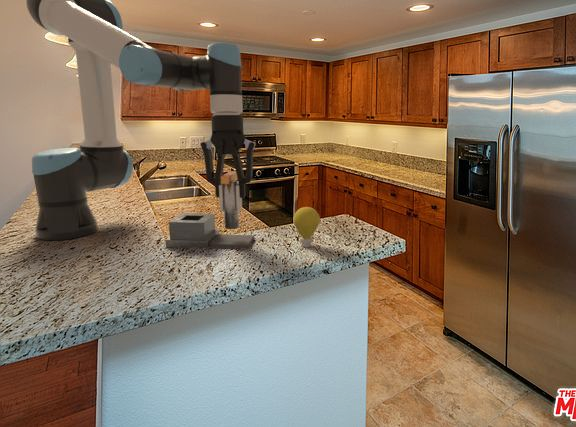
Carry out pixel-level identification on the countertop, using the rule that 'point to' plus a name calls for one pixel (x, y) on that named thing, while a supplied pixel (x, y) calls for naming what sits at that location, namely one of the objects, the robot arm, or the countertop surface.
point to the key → (230, 200)
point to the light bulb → (306, 224)
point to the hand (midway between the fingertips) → (231, 209)
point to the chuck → (192, 231)
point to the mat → (232, 241)
